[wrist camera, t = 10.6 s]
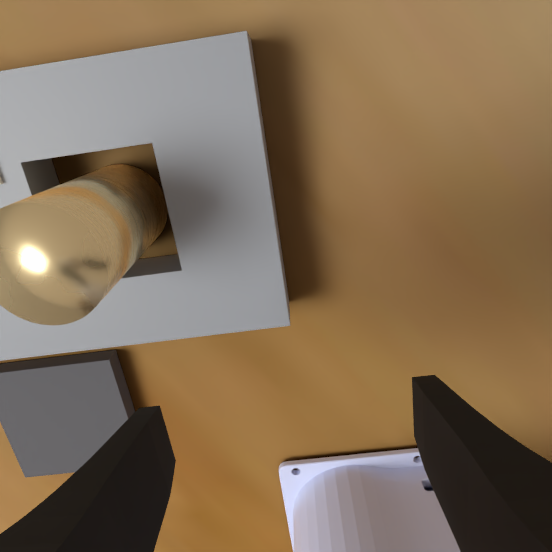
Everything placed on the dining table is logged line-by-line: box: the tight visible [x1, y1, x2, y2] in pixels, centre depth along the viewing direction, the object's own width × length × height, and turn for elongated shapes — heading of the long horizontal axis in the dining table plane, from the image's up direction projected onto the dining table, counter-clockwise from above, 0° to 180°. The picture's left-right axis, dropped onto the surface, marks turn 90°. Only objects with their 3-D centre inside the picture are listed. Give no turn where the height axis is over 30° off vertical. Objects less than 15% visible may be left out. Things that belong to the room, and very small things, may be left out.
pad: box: [0, 350, 135, 477], centre depth 25 cm, size 7×7×1 cm
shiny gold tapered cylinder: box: [0, 164, 168, 325], centre depth 18 cm, size 4×4×8 cm
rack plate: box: [0, 31, 290, 361], centre depth 20 cm, size 20×12×3 cm, turn 98°
